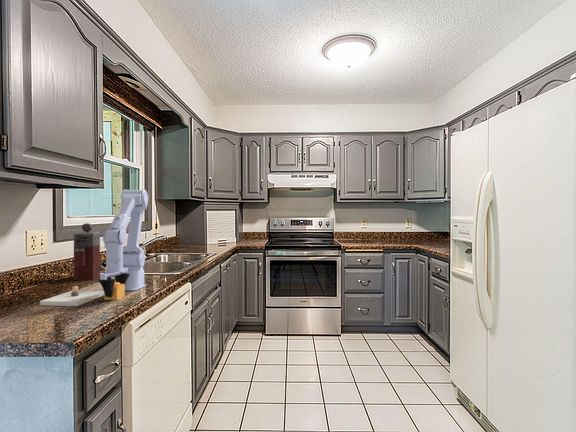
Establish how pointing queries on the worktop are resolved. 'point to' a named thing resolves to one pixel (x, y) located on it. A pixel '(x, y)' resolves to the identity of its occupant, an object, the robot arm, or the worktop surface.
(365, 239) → the worktop surface
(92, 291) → the plate
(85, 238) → the glass decanter
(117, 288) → the orange cube with dome
